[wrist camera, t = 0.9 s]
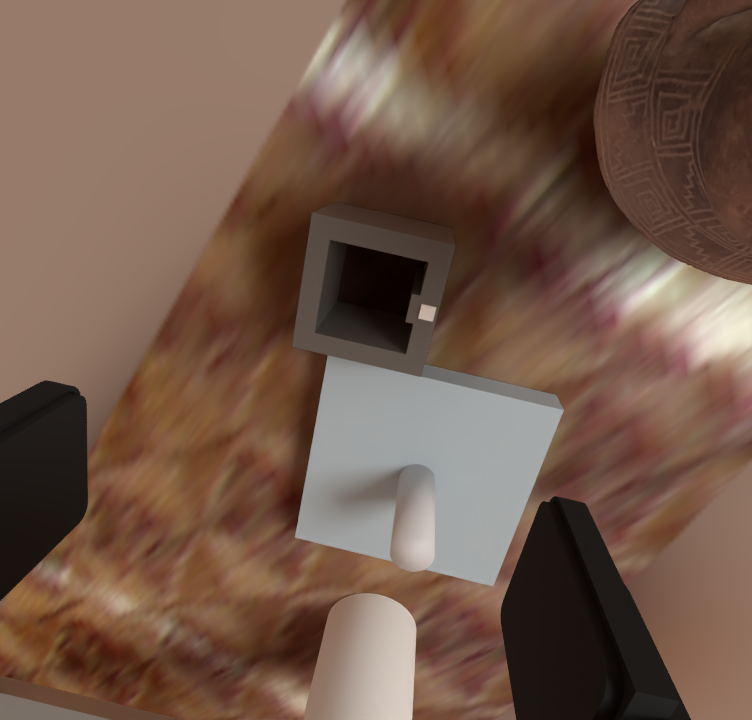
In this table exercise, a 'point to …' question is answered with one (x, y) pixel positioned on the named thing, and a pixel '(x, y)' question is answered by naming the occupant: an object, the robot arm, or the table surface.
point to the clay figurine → (682, 129)
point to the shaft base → (423, 466)
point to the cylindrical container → (364, 662)
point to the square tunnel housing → (360, 324)
